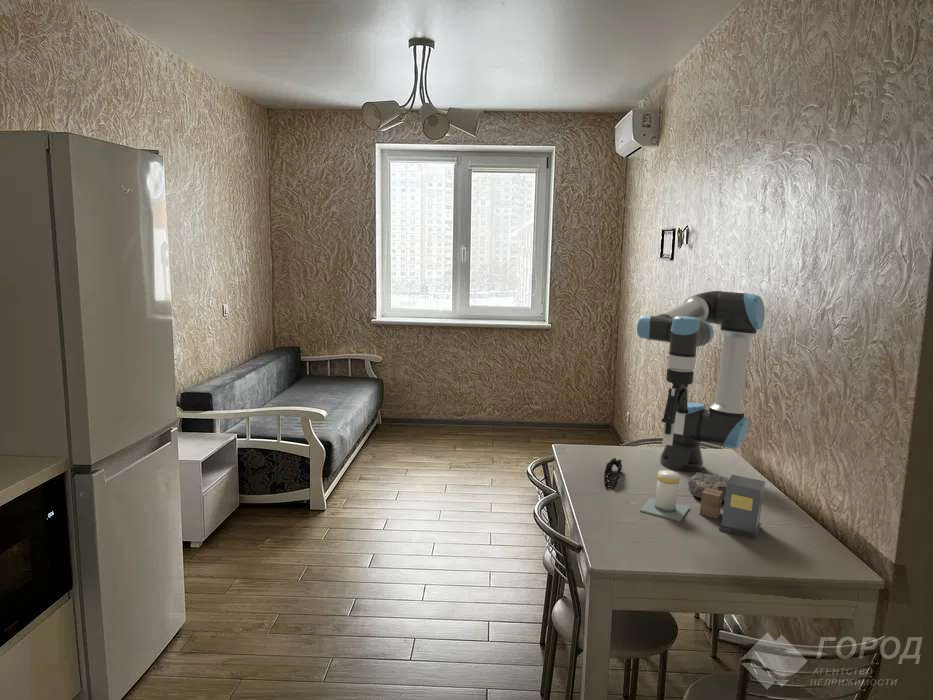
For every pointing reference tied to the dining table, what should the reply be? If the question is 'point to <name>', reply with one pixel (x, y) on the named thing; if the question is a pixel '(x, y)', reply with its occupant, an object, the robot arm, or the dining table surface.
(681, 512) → the mat
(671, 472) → the cartridge
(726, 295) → the robot arm
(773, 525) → the dining table surface
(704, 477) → the rock
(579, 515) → the dining table surface
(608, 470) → the decorative element
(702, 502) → the walnut block
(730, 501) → the box
